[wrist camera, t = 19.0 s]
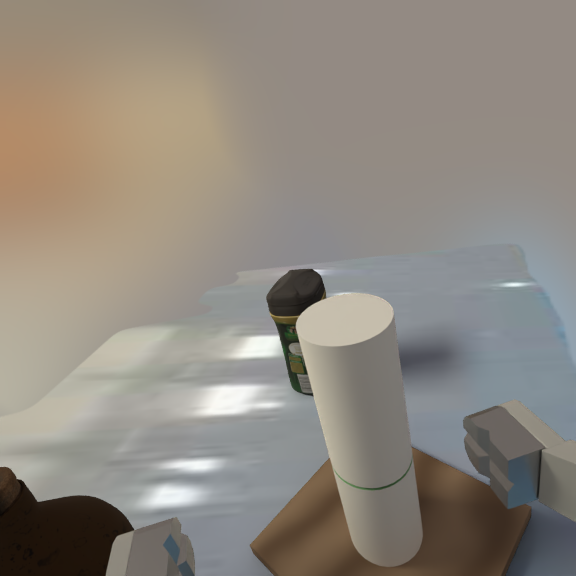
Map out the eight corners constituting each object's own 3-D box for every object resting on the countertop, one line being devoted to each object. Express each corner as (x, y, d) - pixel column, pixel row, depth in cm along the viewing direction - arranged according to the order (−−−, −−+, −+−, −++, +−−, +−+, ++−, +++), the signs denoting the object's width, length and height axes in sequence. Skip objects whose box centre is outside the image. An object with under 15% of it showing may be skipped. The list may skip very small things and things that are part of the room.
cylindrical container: (409, 489, 42) (380, 286, 31) (433, 560, 35) (406, 333, 25) (344, 501, 42) (294, 304, 32) (356, 572, 36) (297, 355, 25)
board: (253, 553, 41) (249, 545, 40) (363, 430, 52) (362, 421, 52) (432, 742, 27) (430, 733, 26) (530, 516, 38) (531, 507, 37)
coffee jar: (303, 358, 70) (279, 265, 62) (346, 359, 67) (326, 262, 59) (285, 396, 62) (255, 295, 54) (333, 399, 59) (307, 293, 51)
